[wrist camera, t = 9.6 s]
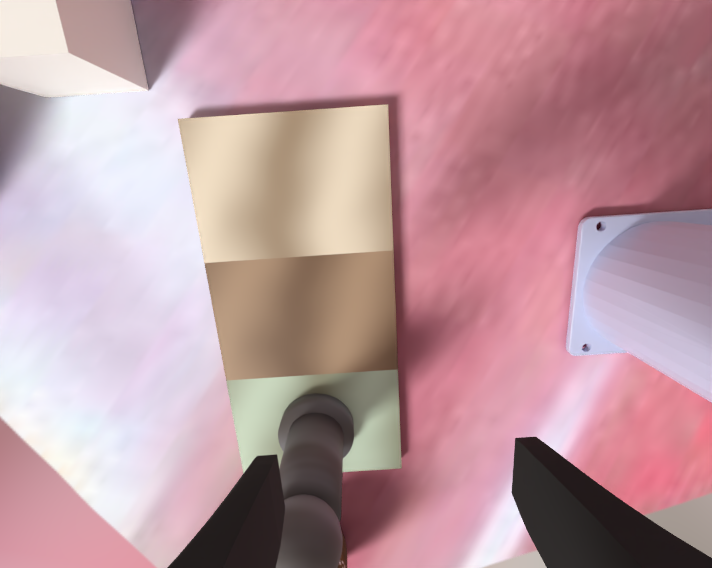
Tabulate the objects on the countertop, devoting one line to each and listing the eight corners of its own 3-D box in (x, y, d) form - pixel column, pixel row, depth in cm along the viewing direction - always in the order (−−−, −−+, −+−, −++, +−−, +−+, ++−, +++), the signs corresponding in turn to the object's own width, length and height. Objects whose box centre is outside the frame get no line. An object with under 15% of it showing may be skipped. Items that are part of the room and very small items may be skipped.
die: (123, -34, 16) (20, -133, 11) (148, 90, 17) (66, 51, 12) (12, -26, 16) (-141, -122, 11) (46, 97, 17) (-77, 62, 12)
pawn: (355, 453, 22) (358, 629, 13) (285, 457, 22) (241, 634, 13) (351, 391, 21) (351, 539, 12) (277, 395, 21) (223, 546, 12)
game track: (386, 108, 17) (387, 104, 17) (399, 458, 23) (401, 468, 22) (185, 122, 17) (177, 118, 17) (248, 468, 23) (244, 478, 22)
